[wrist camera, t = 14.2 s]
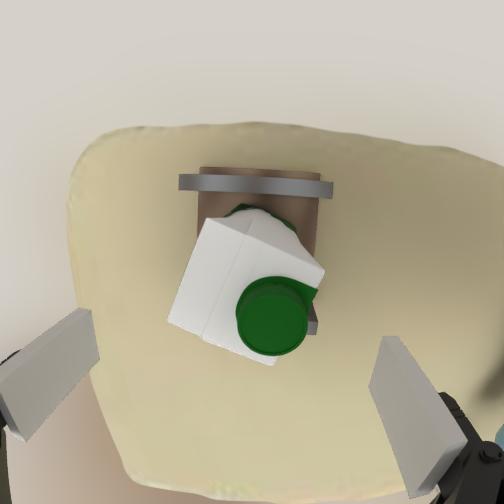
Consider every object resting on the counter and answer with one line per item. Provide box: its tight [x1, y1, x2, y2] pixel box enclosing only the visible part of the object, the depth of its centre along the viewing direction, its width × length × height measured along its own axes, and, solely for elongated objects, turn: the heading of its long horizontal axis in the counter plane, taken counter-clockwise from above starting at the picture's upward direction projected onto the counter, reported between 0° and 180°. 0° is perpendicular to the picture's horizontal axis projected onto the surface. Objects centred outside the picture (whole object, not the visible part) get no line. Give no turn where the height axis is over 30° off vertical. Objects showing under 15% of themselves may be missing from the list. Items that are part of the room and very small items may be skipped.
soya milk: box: [167, 203, 326, 366], centre depth 26 cm, size 9×9×20 cm
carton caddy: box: [179, 167, 333, 335], centre depth 33 cm, size 14×17×9 cm
